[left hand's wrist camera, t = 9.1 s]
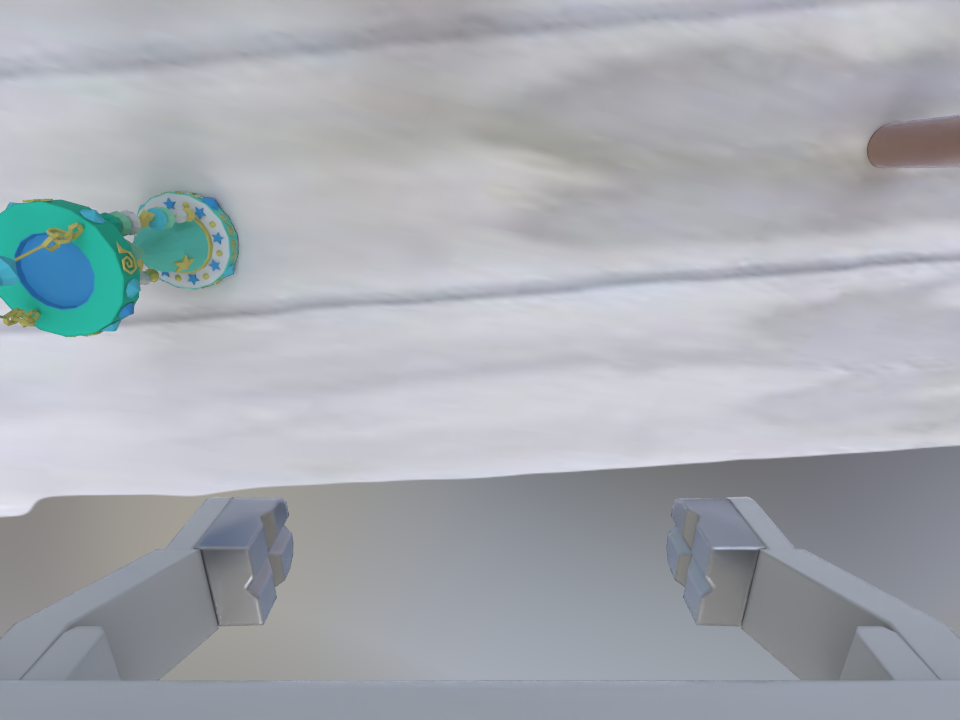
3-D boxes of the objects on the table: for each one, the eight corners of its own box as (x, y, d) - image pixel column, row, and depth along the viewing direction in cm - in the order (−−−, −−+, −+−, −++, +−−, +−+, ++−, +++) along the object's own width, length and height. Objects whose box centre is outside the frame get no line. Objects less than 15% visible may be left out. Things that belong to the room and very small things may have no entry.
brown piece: (907, 115, 51) (1076, 92, 36) (913, 157, 52) (1077, 151, 38) (864, 133, 51) (1013, 118, 37) (870, 175, 52) (1016, 175, 38)
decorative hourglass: (212, 309, 57) (-46, 441, 29) (122, 247, 55) (-254, 325, 27) (262, 232, 54) (29, 295, 26) (170, 163, 52) (-198, 151, 24)
